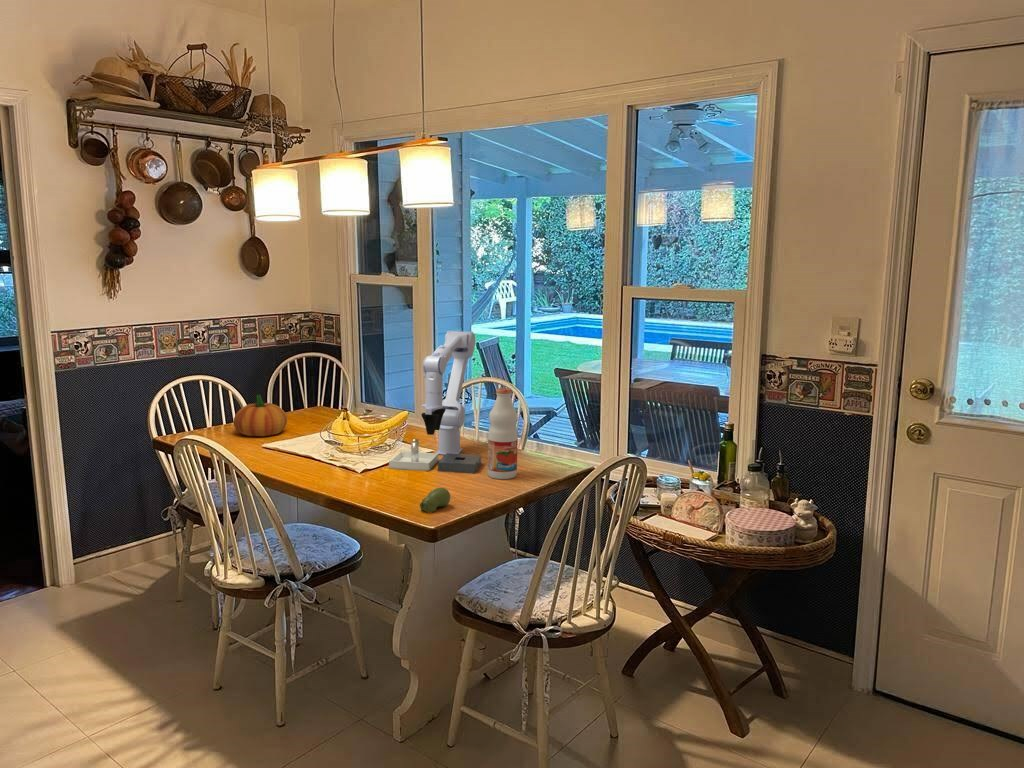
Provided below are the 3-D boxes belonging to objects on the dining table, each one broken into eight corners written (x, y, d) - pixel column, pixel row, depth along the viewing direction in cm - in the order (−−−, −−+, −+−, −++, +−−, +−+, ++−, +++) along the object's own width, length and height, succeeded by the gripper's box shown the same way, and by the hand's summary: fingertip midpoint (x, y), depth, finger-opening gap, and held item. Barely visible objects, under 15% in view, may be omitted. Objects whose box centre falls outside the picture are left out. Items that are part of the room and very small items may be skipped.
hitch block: (446, 461, 263) (446, 453, 263) (481, 463, 262) (481, 455, 261) (438, 471, 252) (438, 462, 251) (474, 473, 250) (474, 464, 249)
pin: (412, 461, 260) (412, 438, 259) (419, 462, 260) (419, 438, 258) (410, 463, 258) (410, 440, 256) (417, 464, 257) (417, 440, 256)
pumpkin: (278, 440, 288) (277, 400, 286) (226, 438, 288) (225, 399, 286) (293, 428, 307) (292, 391, 305) (244, 427, 307) (243, 390, 305)
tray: (400, 458, 266) (400, 451, 266) (438, 460, 264) (438, 453, 264) (389, 468, 253) (389, 460, 253) (428, 471, 251) (428, 463, 251)
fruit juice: (502, 470, 255) (504, 385, 250) (522, 476, 248) (525, 389, 244) (481, 475, 248) (482, 388, 244) (501, 481, 242) (503, 392, 237)
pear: (453, 486, 216) (429, 501, 208) (455, 504, 217) (431, 519, 210) (438, 483, 219) (414, 497, 211) (439, 500, 221) (416, 514, 213)
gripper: (427, 388, 266) (427, 427, 268) (416, 394, 252) (415, 435, 254) (447, 389, 265) (447, 428, 267) (437, 395, 251) (437, 437, 253)
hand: (433, 432), depth 260 cm, fingers open, 7 cm apart
